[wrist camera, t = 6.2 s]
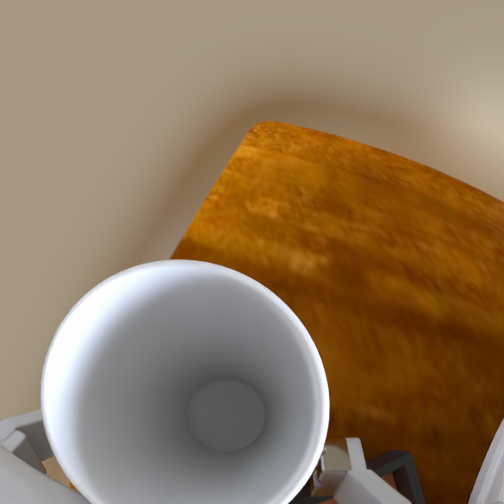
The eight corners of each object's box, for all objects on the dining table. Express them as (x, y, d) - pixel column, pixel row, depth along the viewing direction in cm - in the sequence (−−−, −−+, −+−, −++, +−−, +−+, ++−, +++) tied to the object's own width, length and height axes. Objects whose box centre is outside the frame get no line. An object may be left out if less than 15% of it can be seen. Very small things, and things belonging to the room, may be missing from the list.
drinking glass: (159, 415, 18) (0, 377, 5) (224, 349, 20) (171, 208, 8) (234, 480, 15) (184, 590, 3) (300, 409, 18) (396, 373, 5)
